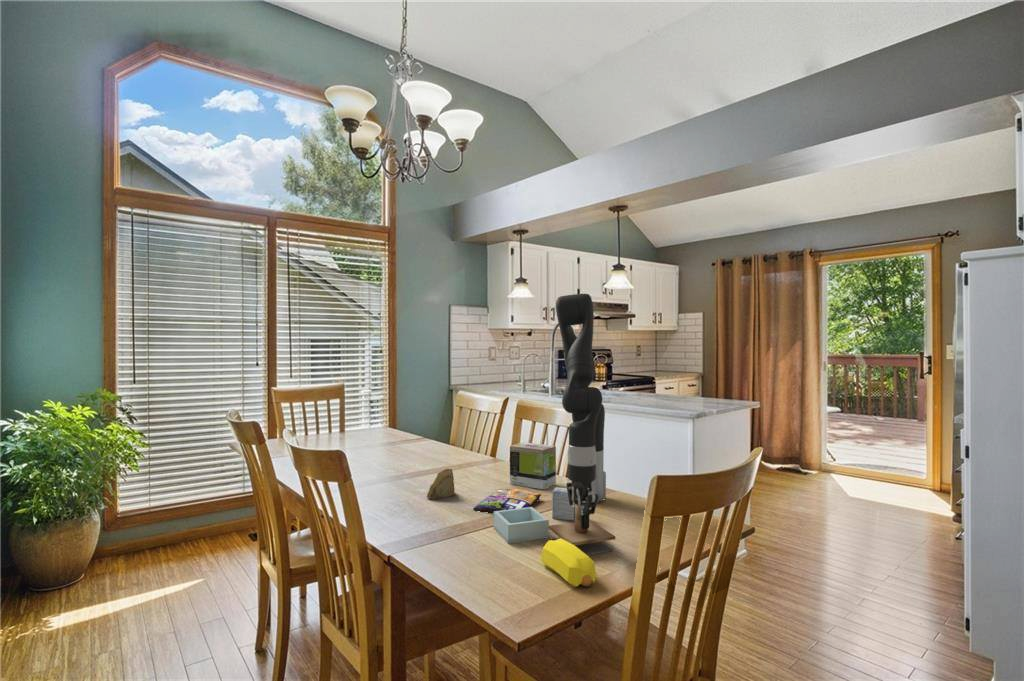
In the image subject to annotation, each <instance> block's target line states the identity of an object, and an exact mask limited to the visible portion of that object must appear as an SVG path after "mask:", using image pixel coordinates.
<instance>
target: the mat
mask: <svg viewBox="0 0 1024 681" xmlns="http://www.w3.org/2000/svg"><path fill="white" fill-rule="evenodd" d="M557 539H560V537H556V538H552V539H551V540H552V541H555V540H557ZM575 546H576V547H577V548H578V549H580V550H581V551H582V552H583V553H585V554H586V555H587V556H589V555H595V554H601V553H607V552H613V551H614V548H612V547H610V546H609V545H608V544H606V543H605V542H604V541H601V542H594V543H587V544H581V545H575Z"/></svg>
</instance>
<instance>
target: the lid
mask: <svg viewBox="0 0 1024 681" xmlns="http://www.w3.org/2000/svg"><path fill="white" fill-rule="evenodd" d="M584 510H585V506H584ZM549 530H550V531H551V532H552V533H554V534H555V535H556V536H557V537H558V538H561V539H563V540H565V541H567V542H569V543H571V544H573V545H581V544H587V543H594V542H601V541H602V542H605V541H606V542H608V541H613V540H616V536H615V535H614V534H613V533H611V532H609V531H608V530H606V528H603V527H602V526H601V525H599V524H598V523H595V522H594V521H593V520H592V519H589V528H588V529H582V528H581V509H580V506H579V505H578V503H576V504H575V523H574V521H573V522H568V523H559V524H552V525H549Z"/></svg>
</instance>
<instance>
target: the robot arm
mask: <svg viewBox="0 0 1024 681" xmlns="http://www.w3.org/2000/svg"><path fill="white" fill-rule="evenodd" d="M594 312H595V311H594V305H593V300H592V296H591V295H590V294H589V293H574V294H567V295H559V296H558V297H557V298H556V302H555V313H556V317H557V321H558V327H559V332H560V336H561V342H562V346H563V355H564V362H565V363H564V364H565V369H566V370H565V371H566V376H567V381H566V385H565V388H564V391H563V394H562V395H563V396H562V399H561V404H562V408H563V409H564V410H565V412H567V413H569V414H571V418H572V422H571V423H570V424H569V426H568V450H567V479H568V480H569V481H571V482H567V483H566V488H567V492H568V498H569V504H570V505H572V508H573V510H574V521H573V522H574V523H575V504H576V503H578V505H579V506H580V509H581V528H582V529H588V528H589V520H590V515H595V513H596V508H597V504H598V503H600V502H599V501H601V502H603V501H604V500H603V499H606V500H607V498H606V496H607V491H606V490H607V487H606V485H607V473H606V471H604V463H605V462H604V461H605V460H604V456H605V455H604V453H605V452H604V450H605V449H604V443H605V442H604V441H605V436H604V434H605V432H604V431H605V417H606V412H605V409H606V408H605V406H604V404H603V394H602V392H601V390H600V389H599V388H598V387H595V386H591V384H592V382H593V381H594V379H595V376H596V366H595V359H594V354H593V341H594V340H593V339H594V323H595V322H594V319H595V318H594V317H595V316H594ZM578 325H582V327H581V330H580V331H579V334H578V336H577V335H576V333H575V332H574V331H573V328H572V326H578ZM602 500H603V501H602ZM584 506H585V510H584Z"/></svg>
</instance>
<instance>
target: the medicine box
mask: <svg viewBox="0 0 1024 681" xmlns="http://www.w3.org/2000/svg"><path fill="white" fill-rule="evenodd" d="M551 497H552V499H551V501H552V502H551V506H552V508H551V509H552V519H556V520H563V521H564V520H566V521H573V522H574V510H573V508H572V505H570V504H569V498H568V492H567V487H557V486H556V487H554V489H553V490H552V492H551Z"/></svg>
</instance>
